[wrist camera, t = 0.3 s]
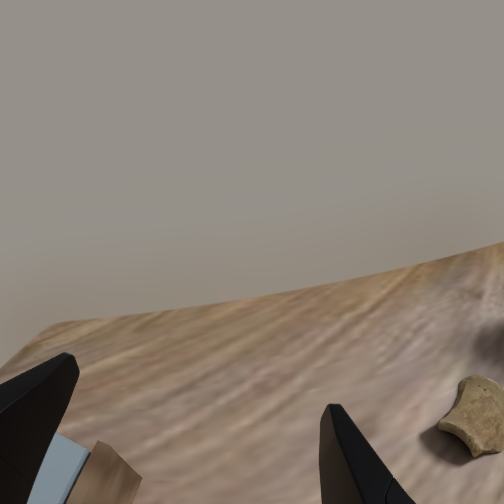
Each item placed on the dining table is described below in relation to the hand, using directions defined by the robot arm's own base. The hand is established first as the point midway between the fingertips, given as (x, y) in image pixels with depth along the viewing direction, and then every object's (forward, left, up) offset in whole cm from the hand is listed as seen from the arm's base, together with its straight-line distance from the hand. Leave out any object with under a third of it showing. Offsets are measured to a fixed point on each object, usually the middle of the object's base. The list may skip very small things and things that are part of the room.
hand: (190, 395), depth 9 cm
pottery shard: (+7, -24, -17) cm, 30 cm away
